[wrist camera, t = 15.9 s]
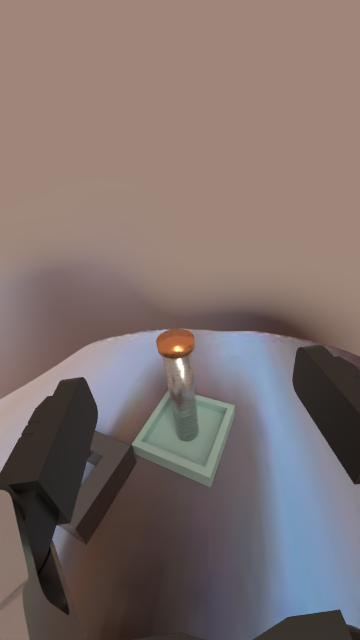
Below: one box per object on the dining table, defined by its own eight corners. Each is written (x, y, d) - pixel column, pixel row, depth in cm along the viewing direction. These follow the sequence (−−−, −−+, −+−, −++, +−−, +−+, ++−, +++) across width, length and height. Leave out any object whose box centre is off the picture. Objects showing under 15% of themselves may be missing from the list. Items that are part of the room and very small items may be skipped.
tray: (171, 396, 46) (169, 387, 44) (235, 415, 40) (234, 405, 39) (134, 454, 36) (131, 444, 35) (210, 487, 31) (210, 477, 30)
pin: (180, 415, 41) (167, 326, 32) (206, 423, 39) (199, 332, 30) (167, 438, 37) (149, 346, 29) (195, 449, 35) (184, 353, 27)
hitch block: (85, 439, 40) (78, 423, 38) (136, 462, 35) (130, 445, 33) (30, 505, 32) (17, 488, 30) (86, 544, 28) (75, 528, 26)
